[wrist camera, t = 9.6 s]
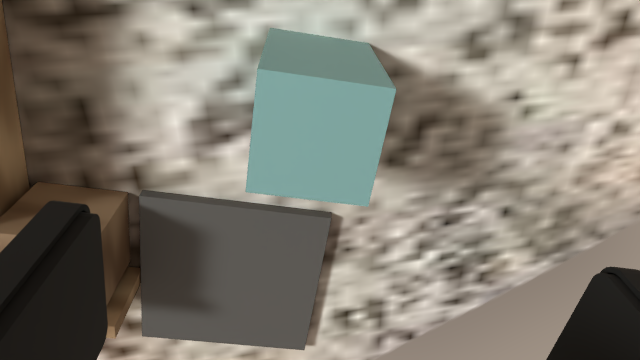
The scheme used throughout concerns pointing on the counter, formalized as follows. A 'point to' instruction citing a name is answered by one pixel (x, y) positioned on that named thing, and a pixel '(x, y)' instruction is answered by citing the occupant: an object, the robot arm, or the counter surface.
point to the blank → (318, 118)
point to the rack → (24, 203)
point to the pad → (229, 270)
